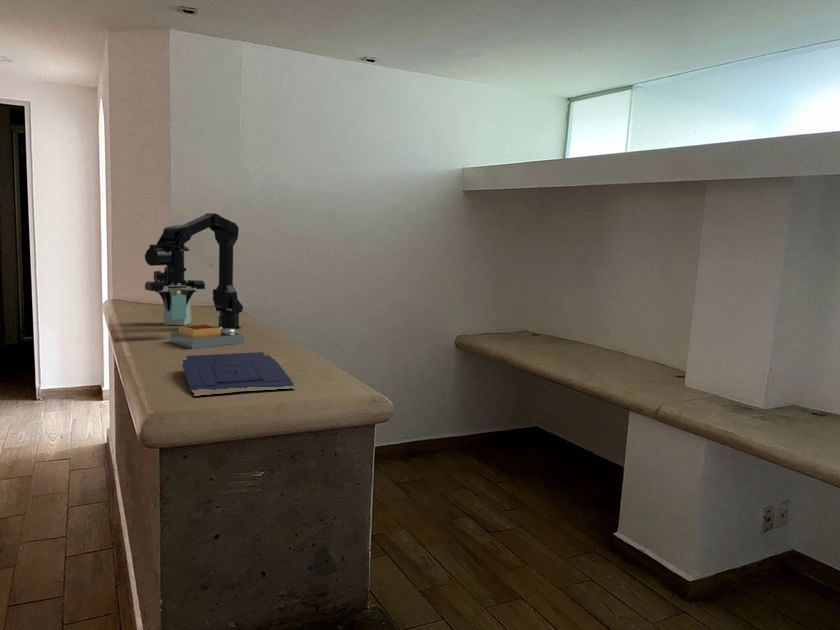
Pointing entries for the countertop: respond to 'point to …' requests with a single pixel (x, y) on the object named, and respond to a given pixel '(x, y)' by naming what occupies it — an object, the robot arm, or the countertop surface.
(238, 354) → the dark blue book
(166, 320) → the skincare box
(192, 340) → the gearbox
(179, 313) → the spout can
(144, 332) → the countertop surface
